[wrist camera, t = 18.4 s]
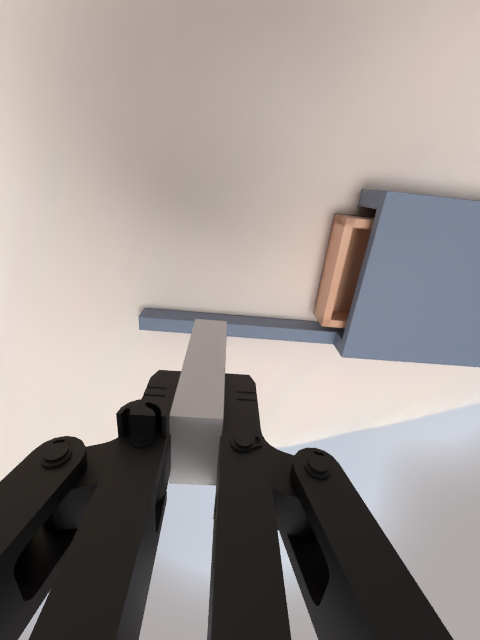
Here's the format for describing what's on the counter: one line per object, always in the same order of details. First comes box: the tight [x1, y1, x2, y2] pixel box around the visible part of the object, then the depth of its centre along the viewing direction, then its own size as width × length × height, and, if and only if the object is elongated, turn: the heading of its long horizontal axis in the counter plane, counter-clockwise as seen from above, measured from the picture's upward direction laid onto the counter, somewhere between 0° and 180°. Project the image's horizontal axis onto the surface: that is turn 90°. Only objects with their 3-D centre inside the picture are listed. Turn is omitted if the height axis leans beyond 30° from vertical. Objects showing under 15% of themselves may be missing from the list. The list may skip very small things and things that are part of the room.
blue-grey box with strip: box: [139, 190, 480, 367], centre depth 31 cm, size 16×40×5 cm, turn 84°
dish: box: [313, 214, 374, 328], centre depth 32 cm, size 11×16×4 cm
